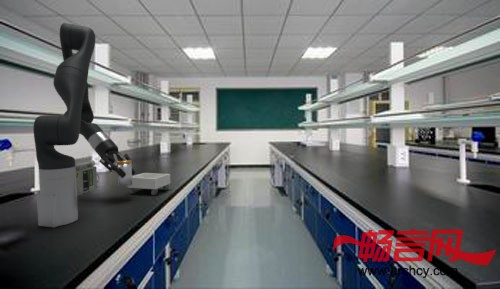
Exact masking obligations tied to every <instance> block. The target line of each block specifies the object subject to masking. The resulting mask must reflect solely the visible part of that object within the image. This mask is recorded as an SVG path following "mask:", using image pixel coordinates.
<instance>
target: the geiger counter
mask: <svg viewBox="0 0 500 289" xmlns="http://www.w3.org/2000/svg"><path fill="white" fill-rule="evenodd" d="M75 168H76V190H77V197H79V196H81V195H83V193H84V194H86V193H89V192H92V191H94V190H96V188H97V189H98V183H100V176H99V175H98V173H97V169H98V168H97V166H96V161H95V160H93V159H91V160H86V161H84V162H80V163H79V162H78V163H75ZM93 189H94V190H93ZM88 191H89V192H88ZM78 195H79V196H78Z"/></svg>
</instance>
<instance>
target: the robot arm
mask: <svg viewBox="0 0 500 289" xmlns="http://www.w3.org/2000/svg"><path fill="white" fill-rule="evenodd" d="M59 41H60V43H59V44H60V48H61V53H62V59H63V60H62V61H61V62H60V63H59V65H57V68H55V69H56V70H55V73H54V78H53V87H54V89H55V91H56V92H57V95H58V96H59V97H60V98H61V100H62V101H63V102H64V104H65V107H66V111H65V112H64V114H63V115H38V116H37V117H36V118H35V119H34V122H33V138H34V139H33V140H34V145H35V147H34V148H35V156H36V161H37V165H38V180H39V183H38V184H39V193H37V194H36V207H37V210H36V211H37V224H38V226H39V227H48V228H56V227H61V226H65V225H69V224H72V223H74V222H77V221H78V219H79V218H78V217H79V214H78V213H79V212H78V196H77V190H76V168H75V164H76V159H75V158H74V157H73V156H71V155H67V154H64V153H61V152H60V151H58V150H56V148H55V146H72V145H75V144H76V143H77V142H79V141H78V140H79V137H80V135H82V136H83V138H84V139H85V140H86V141H87V142H88V143H89V146H90V147H91V148H92V150H94V152H95V153H96V154H97V155H98V157H100V159H99V161H98V162H99V163H100V164H101V165H102V166H104V168H106V169H107V170H108V171H110V172H114V173H115V172H116V173H117V176H118V175H119V176H120V177H121V178H124V177H125V176H126V173H125V172H124V171H123V170H122V169H121V168H119V167H120V166H119V164H118V161H120V160H132V159H131V157H130V156H129V155H128V154H127V153H125V154H122V153H121V152H120V151H119V147H118V145H117V144H116V143H115V142H114V141H113V139H111V137H110V136H109V135H108V134H106V133H105V132H104V131H103V129H102V128H101V127H100V126H99V125H98V123H93V121H94V118H95V117H94V116H95V115H94V111H93V108H92V106H91V105H92V104H91V103H90V99H89V97H90V96H89V83H88V79H89V70H90V64H91V60H92V56H93V53H94V51H95V50H94V49H95V45H96V34H95V31H94V30H93V29H92V27H91V28H90V27H88V26H83V25H78V24H74V23H68V22H67V23H66V22H62V24H61V25H60V28H59ZM73 51H77V52H76V53H73ZM133 164H134V163H133V161H132V165H133ZM134 175H136V170H135V169H134V167H132V176H134Z"/></svg>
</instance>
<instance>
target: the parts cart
mask: <svg viewBox="0 0 500 289" xmlns="http://www.w3.org/2000/svg"><path fill="white" fill-rule="evenodd" d="M170 184H171V173H153V172H143V173H139V174H134V175H132V185H131V186H126V187H127V188H129V190H128V191H129V194H132V195H133V194H134V195H135V194H136V192H137V189H143V190H150V191H151V192H150V193H151V195H152V196H156V195H157V194H158V189H160V188H162V190H163V191H168V190H169V188H170V186H169V185H170Z"/></svg>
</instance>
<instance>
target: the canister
mask: <svg viewBox="0 0 500 289" xmlns="http://www.w3.org/2000/svg"><path fill="white" fill-rule="evenodd" d="M132 162H133V161H132V159H131V160H120V161H118V164H119V166H120V167H119V168H121V169H122V170H123V171H124V172H125V173H126V176H125V177H124V178H121V177H120V176H119V175H118V174H117V176H118V177H117V180H118V181H117V182H118V187H121V188H123V187H127V186H131V185H132V176H133V175H132V168H133V166H132V165H133V164H132Z"/></svg>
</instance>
